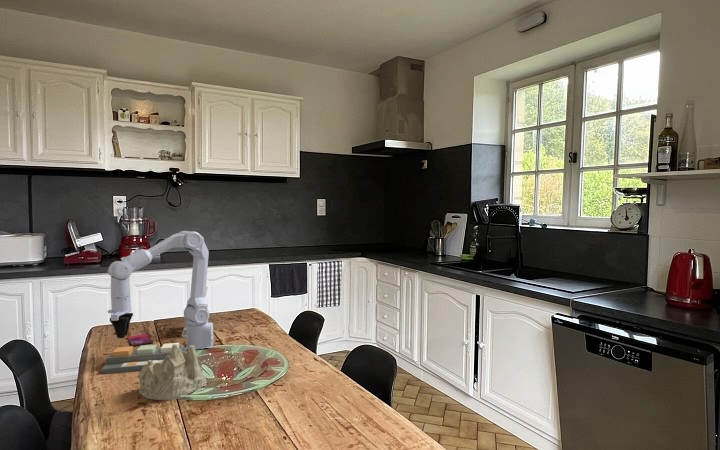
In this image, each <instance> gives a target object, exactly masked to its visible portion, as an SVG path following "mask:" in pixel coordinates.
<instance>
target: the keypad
mask: <svg viewBox="0 0 720 450" xmlns="http://www.w3.org/2000/svg"><path fill="white" fill-rule="evenodd" d="M161 347H162V346H160V347H157V346H156V351H155V352H154V354H141V355H137V349H138V348H133V352H132V353H131V354H130V355H129V356H116V357H112V352H111V353H110V354H109V355H107V357H106V358H105V365H104V366H103V367H102V368H101V374H104V375H105V374H114V373H125V372H140V371H141V370H142V369H143V367H144V365H145V364H148V360H152V361H153V365H154V364H155V363H158V362H160V361H162V360H164V359H165V358H166V355H168V354H171V352H167V353H161ZM179 349H181V351H182V352H188V350H187V348H185V345H184V344H183V345H179Z"/></svg>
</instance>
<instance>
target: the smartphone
mask: <svg viewBox="0 0 720 450" xmlns="http://www.w3.org/2000/svg"><path fill="white" fill-rule="evenodd" d="M126 338H127V339H126V341H127V340H128V341H127V342H128V344H129V345H130V346H133V348H136V347H140V346H142V345H154V341H153V340H152V339H151V337H149V335H148V334H146V333H144V334H138V335H131V336H126Z"/></svg>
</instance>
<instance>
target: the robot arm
mask: <svg viewBox="0 0 720 450" xmlns="http://www.w3.org/2000/svg"><path fill="white" fill-rule="evenodd" d="M173 248H183V249H185V250H186V251H188V252H189V253H190V254H191V255H192V257H193V259H192V260H193V261H192V272H191V283H190V294H189V298H188V299H187V301H186V302H187V303H186V306H185V307H184V310H183V316H184V317H185V318H186V319H187V337H186V346H184V348H187V351H188V347H189V346H190V345H194V346H195V350H205V349H204V348H208V349H212V348H213V345H214V341H215V339H214V323H213V322H209V320H210V311H209V310H208V308H209V307H208V302H207V300H206V296H205V292H206V287H207V280H208V279H207V278H208V268H209V265H208V264H209V253H210V252H209V249H208V247H207V245H206V243H205V238H204V236H202V235H201V234H200V233H199V232H197V231H188V230H181V231H179V232H178V233H174V234H172V235H171V236H169V237H167V238H165V239H163V240H162V241H161V242H158V243H157V244H155V245H154V246H152V247H150V248H148V249H143V248H140V249H135V250H134V251H133V253H131V254H129V255H128V256H127V255H126V256H123V257H120V260H115V261H113V262H112V263H111V264H110V265H109V267H108V269H107V274H108V275H109V276H110V299H111V301H110V304H111V309H108V310H107V314H110V318H109V322H110V323H111V325H112V326H113V329H114V332H115V335H116V337H117V339H124V338H125V337H127V336H128V334H129V328H130V324H131V323H130V322H131V320H132V318H133V316H134V313H133V312H132V305H131V303H132V302H131V283H130V277H131V275H132V274H133V273H134V272H136V271H138V270H140V269H142V268H143V267H145V266H147V265H149V264H151V263H152V260H153V258H154V257H157V256H159V255H161V254H163V253H165V252H167V251H169V250H171V249H173ZM184 317H183V318H184ZM207 320H208V322H207Z"/></svg>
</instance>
